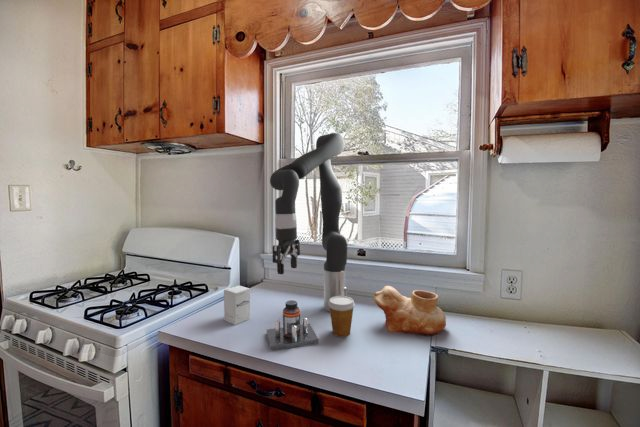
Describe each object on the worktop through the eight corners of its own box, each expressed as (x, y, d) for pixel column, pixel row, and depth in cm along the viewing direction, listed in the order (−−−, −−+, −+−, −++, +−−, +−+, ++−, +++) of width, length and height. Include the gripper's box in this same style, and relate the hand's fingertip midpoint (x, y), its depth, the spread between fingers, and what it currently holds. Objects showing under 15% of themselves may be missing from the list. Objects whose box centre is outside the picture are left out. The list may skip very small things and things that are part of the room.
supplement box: (235, 325, 109) (234, 293, 108) (223, 320, 114) (223, 289, 113) (250, 318, 115) (250, 288, 114) (239, 314, 119) (238, 284, 119)
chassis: (309, 327, 107) (309, 310, 107) (318, 343, 96) (318, 324, 95) (266, 333, 103) (266, 315, 102) (270, 350, 91) (270, 331, 91)
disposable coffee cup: (340, 324, 110) (340, 293, 109) (360, 332, 103) (360, 300, 102) (322, 332, 103) (322, 300, 103) (342, 342, 96) (342, 307, 96)
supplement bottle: (285, 329, 103) (285, 298, 102) (302, 330, 102) (301, 299, 101) (280, 337, 97) (280, 304, 96) (298, 338, 96) (297, 305, 95)
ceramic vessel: (373, 316, 117) (373, 280, 116) (441, 321, 112) (442, 284, 111) (373, 332, 103) (373, 292, 102) (450, 339, 98) (451, 296, 98)
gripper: (288, 223, 110) (289, 265, 111) (265, 228, 98) (267, 275, 99) (305, 224, 107) (306, 267, 108) (283, 229, 94) (285, 277, 95)
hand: (287, 270), depth 103 cm, fingers open, 8 cm apart
